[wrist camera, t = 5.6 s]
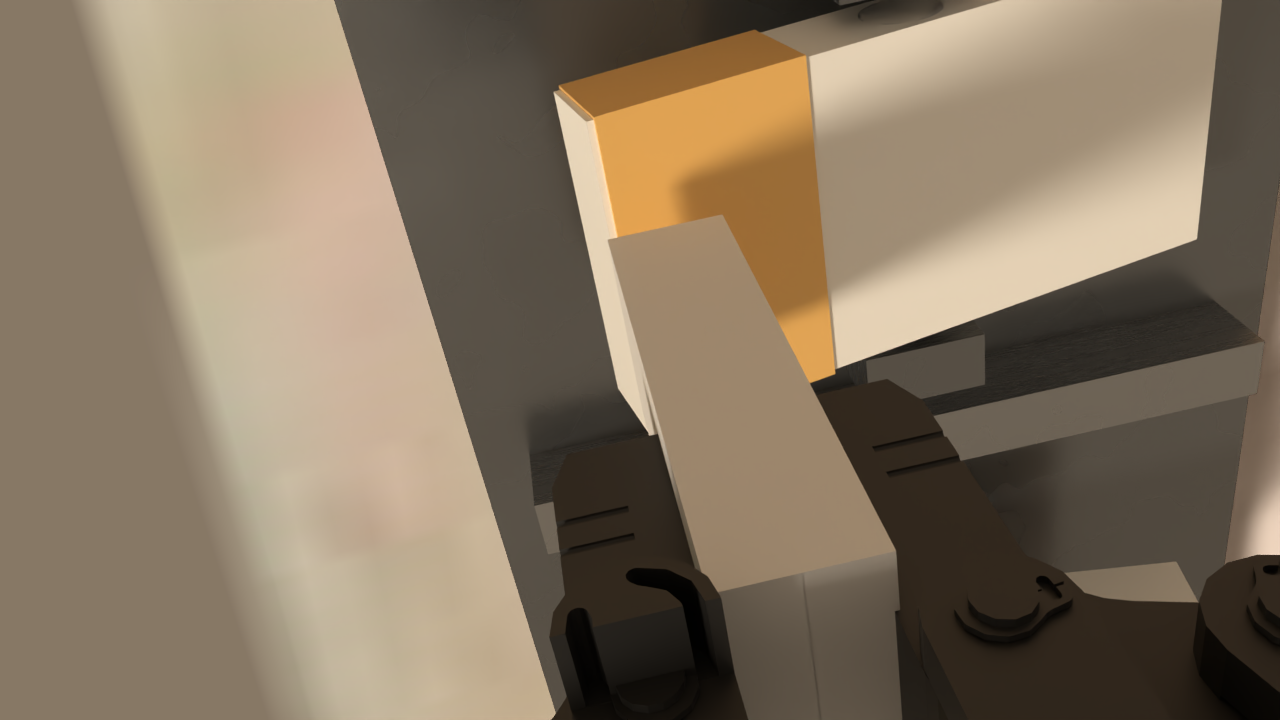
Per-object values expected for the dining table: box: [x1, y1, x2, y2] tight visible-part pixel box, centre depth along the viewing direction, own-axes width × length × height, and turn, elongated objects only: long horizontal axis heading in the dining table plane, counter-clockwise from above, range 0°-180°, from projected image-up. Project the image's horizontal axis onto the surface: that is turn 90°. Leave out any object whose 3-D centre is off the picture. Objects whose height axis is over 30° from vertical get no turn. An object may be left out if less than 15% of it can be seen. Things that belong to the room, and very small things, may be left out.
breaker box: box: [334, 0, 1280, 713], centre depth 23 cm, size 16×26×6 cm, turn 10°
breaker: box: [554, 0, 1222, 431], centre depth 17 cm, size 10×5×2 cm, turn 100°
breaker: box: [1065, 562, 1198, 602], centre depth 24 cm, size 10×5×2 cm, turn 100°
